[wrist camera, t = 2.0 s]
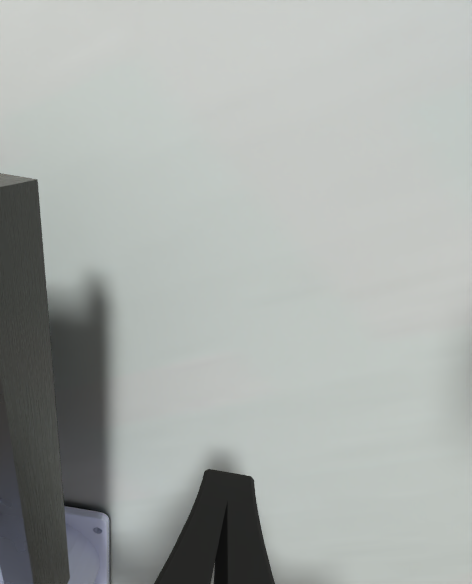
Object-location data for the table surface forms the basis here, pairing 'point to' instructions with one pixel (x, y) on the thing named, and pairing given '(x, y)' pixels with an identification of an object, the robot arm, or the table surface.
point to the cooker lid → (27, 401)
